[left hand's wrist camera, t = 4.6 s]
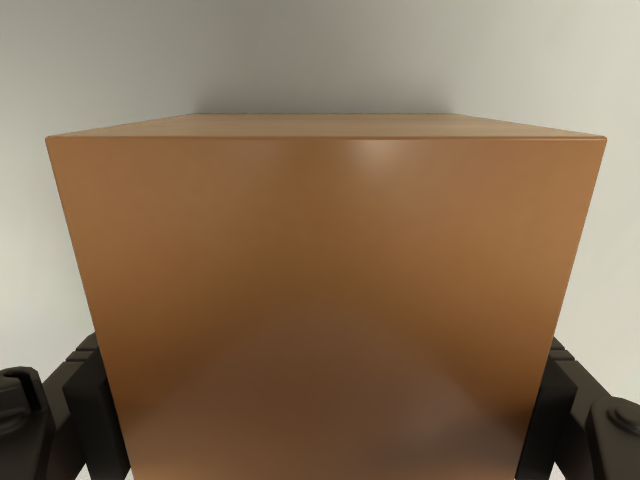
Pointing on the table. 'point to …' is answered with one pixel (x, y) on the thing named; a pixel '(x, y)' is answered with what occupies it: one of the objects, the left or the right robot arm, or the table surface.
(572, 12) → the table surface
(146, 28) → the table surface
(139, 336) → the long beam
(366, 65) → the table surface
